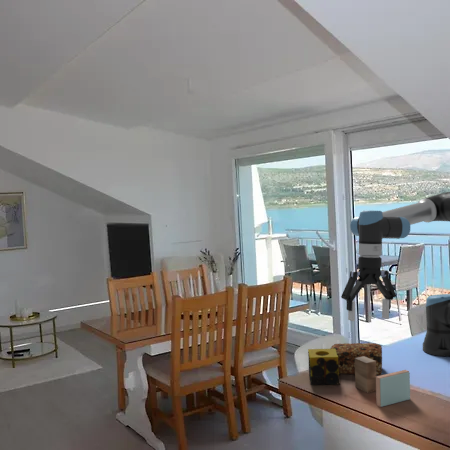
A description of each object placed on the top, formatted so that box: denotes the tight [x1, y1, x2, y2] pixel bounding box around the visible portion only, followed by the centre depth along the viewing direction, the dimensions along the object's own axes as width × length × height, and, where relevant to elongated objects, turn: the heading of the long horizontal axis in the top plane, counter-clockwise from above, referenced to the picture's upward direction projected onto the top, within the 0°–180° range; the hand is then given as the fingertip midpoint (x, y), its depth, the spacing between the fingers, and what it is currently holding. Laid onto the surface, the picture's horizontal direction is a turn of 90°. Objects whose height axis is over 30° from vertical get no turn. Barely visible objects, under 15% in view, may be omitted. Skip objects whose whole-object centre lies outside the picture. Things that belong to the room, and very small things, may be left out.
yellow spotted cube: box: [307, 348, 340, 386], centre depth 180 cm, size 10×10×10 cm
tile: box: [375, 369, 411, 408], centre depth 158 cm, size 12×2×9 cm, turn 115°
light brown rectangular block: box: [354, 356, 377, 394], centre depth 170 cm, size 4×6×10 cm, turn 25°
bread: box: [329, 342, 383, 376], centre depth 188 cm, size 19×11×10 cm, turn 72°
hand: (368, 319), depth 170 cm, fingers open, 13 cm apart
